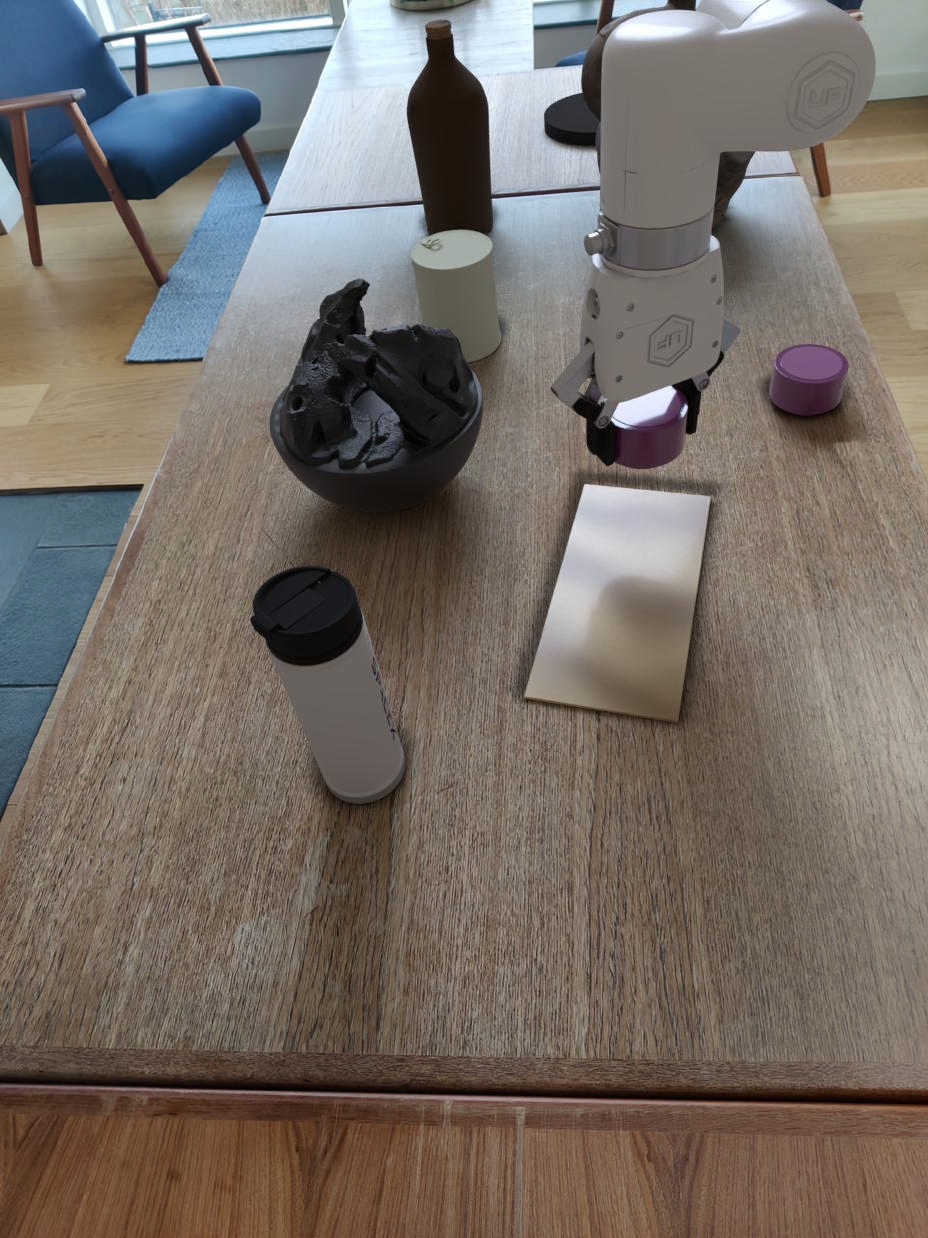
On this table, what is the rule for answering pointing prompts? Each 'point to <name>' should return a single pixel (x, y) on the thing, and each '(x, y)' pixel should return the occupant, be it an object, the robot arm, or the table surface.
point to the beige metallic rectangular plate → (623, 604)
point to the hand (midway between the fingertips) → (642, 439)
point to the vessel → (591, 80)
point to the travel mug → (331, 679)
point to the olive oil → (450, 139)
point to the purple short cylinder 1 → (651, 429)
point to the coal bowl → (376, 409)
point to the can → (459, 289)
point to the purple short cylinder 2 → (808, 379)
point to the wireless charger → (571, 121)
